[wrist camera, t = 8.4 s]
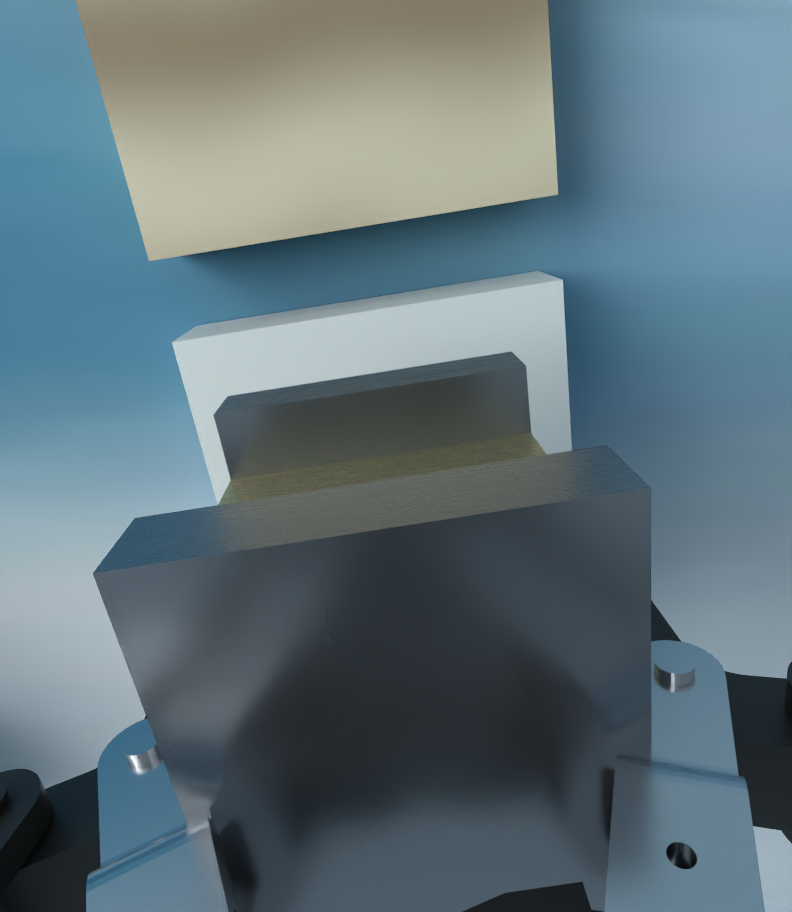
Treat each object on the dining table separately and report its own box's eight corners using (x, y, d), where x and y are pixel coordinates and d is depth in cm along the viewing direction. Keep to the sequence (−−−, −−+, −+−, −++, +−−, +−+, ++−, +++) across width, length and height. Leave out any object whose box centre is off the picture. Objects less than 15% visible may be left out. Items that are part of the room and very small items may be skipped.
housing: (227, 396, 12) (92, 573, 6) (511, 351, 12) (650, 488, 6) (317, 749, 15) (286, 1087, 9) (542, 716, 15) (652, 1036, 9)
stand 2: (196, 325, 18) (171, 342, 16) (538, 270, 18) (562, 279, 16) (272, 611, 22) (261, 659, 20) (557, 567, 22) (580, 610, 20)
